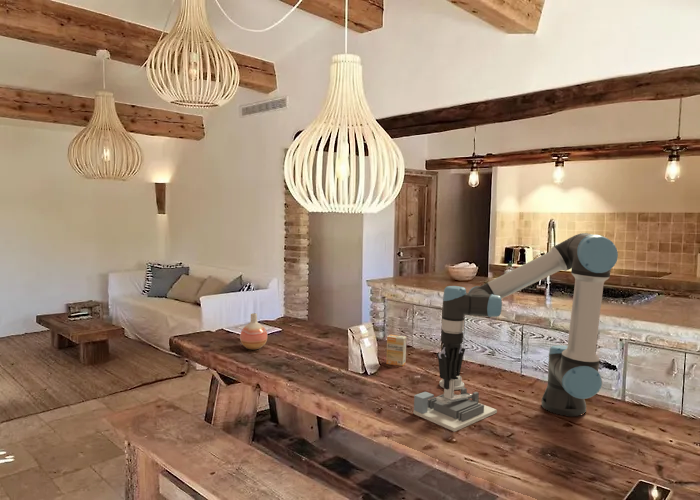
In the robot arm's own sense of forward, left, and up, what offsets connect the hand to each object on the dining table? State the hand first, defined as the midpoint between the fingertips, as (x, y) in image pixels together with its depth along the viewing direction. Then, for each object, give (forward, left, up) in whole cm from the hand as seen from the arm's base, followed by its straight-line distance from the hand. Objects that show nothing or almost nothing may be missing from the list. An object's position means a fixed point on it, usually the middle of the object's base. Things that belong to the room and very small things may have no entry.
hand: (448, 397), depth 177 cm
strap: (0, -4, -2) cm, 4 cm away
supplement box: (+52, -27, -7) cm, 59 cm away
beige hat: (+18, -25, -7) cm, 31 cm away
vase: (+114, +12, -7) cm, 115 cm away
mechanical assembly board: (0, -4, -7) cm, 8 cm away
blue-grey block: (+7, +5, -5) cm, 10 cm away
